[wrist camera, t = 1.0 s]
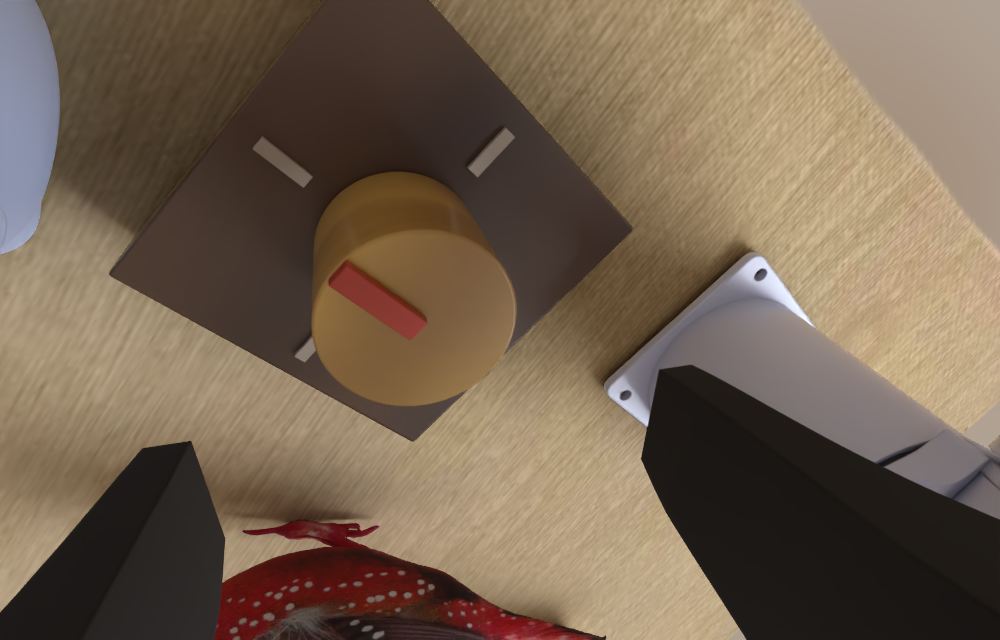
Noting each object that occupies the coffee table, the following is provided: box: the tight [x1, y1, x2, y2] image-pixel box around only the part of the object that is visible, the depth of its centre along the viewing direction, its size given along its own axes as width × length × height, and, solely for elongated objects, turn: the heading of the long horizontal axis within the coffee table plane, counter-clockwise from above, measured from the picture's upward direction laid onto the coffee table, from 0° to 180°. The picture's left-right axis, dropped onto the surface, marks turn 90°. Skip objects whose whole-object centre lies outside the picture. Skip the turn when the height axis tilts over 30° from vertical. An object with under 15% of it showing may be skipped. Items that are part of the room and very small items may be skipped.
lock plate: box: [109, 0, 633, 442], centre depth 17 cm, size 10×10×3 cm
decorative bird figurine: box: [214, 520, 603, 640], centre depth 20 cm, size 3×18×10 cm, turn 74°
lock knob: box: [311, 172, 517, 406], centre depth 14 cm, size 4×4×4 cm
